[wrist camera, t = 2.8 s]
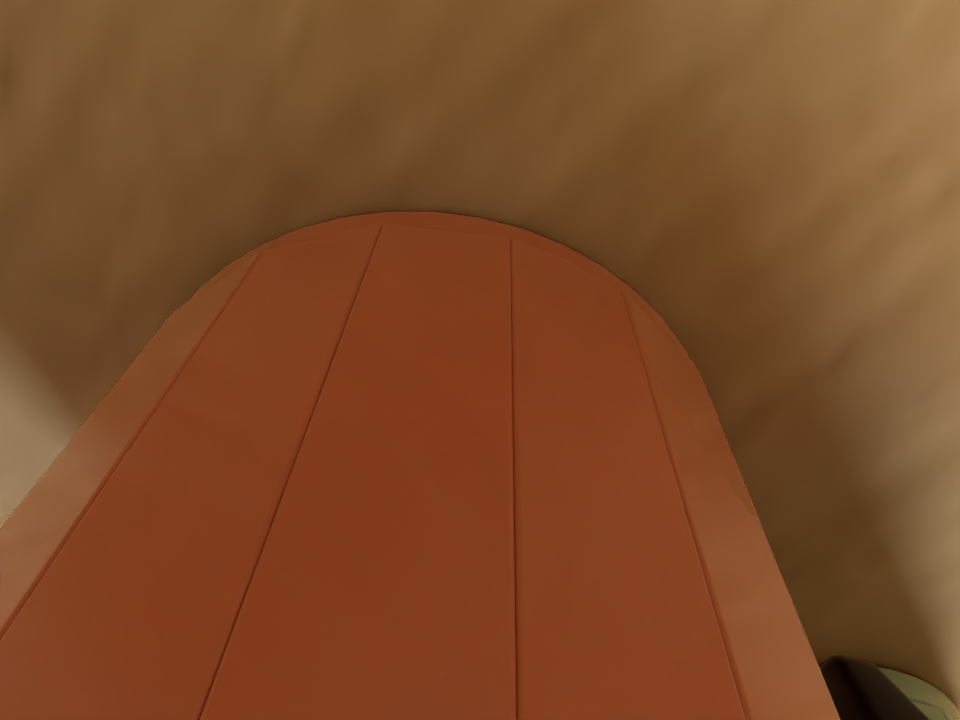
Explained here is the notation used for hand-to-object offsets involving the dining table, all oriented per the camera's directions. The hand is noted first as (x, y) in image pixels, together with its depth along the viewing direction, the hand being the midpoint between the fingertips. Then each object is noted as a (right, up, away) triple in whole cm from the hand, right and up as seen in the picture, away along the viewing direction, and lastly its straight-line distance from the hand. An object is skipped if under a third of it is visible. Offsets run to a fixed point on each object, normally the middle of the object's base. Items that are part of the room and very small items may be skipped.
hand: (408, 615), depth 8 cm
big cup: (0, +1, +2) cm, 2 cm away
